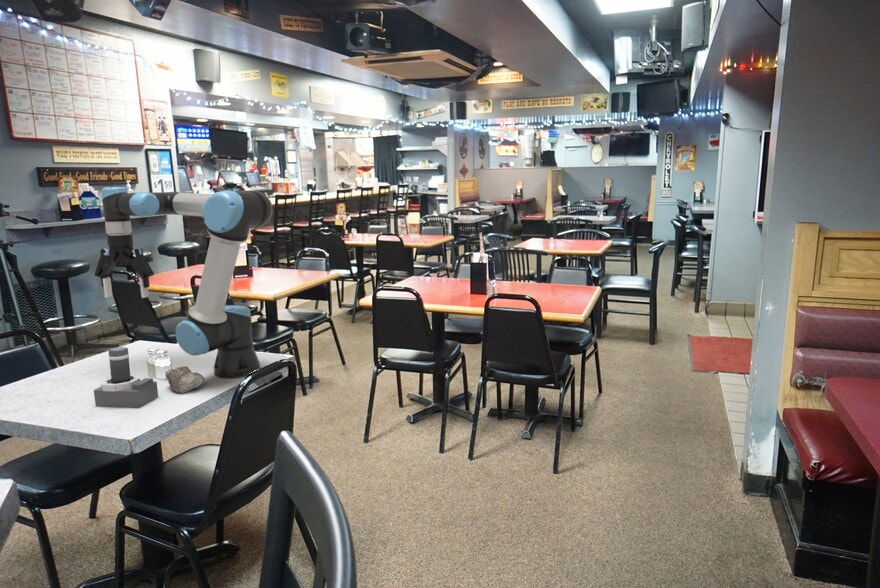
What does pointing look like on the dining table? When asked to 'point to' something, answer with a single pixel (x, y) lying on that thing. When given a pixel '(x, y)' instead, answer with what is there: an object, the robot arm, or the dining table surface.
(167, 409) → the dining table surface
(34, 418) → the dining table surface
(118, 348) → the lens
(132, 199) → the robot arm
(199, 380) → the grey brown rock
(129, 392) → the pen holder base
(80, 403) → the dining table surface
